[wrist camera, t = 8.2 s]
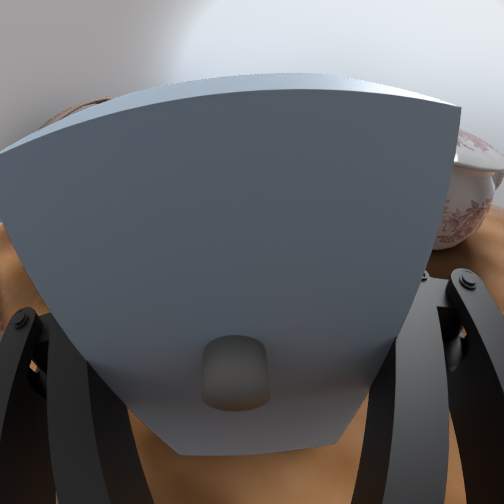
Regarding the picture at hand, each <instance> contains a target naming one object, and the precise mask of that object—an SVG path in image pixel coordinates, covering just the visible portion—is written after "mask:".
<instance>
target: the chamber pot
mask: <svg viewBox="0 0 504 504" xmlns="http://www.w3.org/2000/svg"><path fill="white" fill-rule="evenodd" d="M503 177H504V155H503V154H501V153H500V152H499V150H497V149H496V148H494V147H493V146H491V145H490V144H488V143H487V142H485V141H483V140H481V139H480V138H478V137H476V136H474V135H472V134H470V133H468V132H466V131H463V130H461V129H459V133H458V140H457V147H456V153H455V159H454V165H453V170H452V175H451V180H450V185H449V189H448V194H447V198H446V202H445V206H444V210H443V214H442V218H441V221H440V225H439V228H438V232H437V235H436V239H435V242H434V245H433V248H432V250H441V249H448V248H451V247H454V246H455V245H457V244H459V243H461V242H462V241H463V240H465V239H466V238H467V237H469V236H470V235H471V234H473V233H474V232H475V231H476V230H478V229H479V227H480V226H481V224H482V222H483V220H484V219H485V217H486V215H487V213H488V211H489V209H490V206H491V202H492V199H493V195H494V191H495V190H496V189H497V188H498V187H499V186H500V184H501V182H502V179H503Z"/></svg>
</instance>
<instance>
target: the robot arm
mask: <svg viewBox="0 0 504 504" xmlns="http://www.w3.org/2000/svg"><path fill="white" fill-rule="evenodd" d="M463 327H464V329H465V331H466V333H467V335H466V336H464V334H463V332H462V329H463ZM31 360H32V361H33V362H34V363H35V364H36V365H37V369H36V371H35V372H34V371H33V370H32V369H31V368H30V367H29V366H30V363H31ZM449 410H450V414H451V418H452V422H453V426H454V430H455V434H456V439H457V444H458V448H459V454H460V459H461V465H462V471H463V477H464V484H465V492H466V501H467V504H504V317H503V315H502V313H501V311H500V309H499V308H498V306H497V304H496V302H495V301H494V299H493V297H492V296H491V294H490V292H489V291H488V289H487V288H486V286H485V284H484V283H483V281H482V280H481V279H480V278H479V276H478V275H476V274H475V273H474V272H472V271H470V270H468V269H462V268H459V269H455V270H454V271H453V272H452V273H451V275H450V278H449V280H446V279H438V278H431V277H430V276H429V274H428V272H427V271H426V270H425V272H424V275H423V277H422V280H421V283H420V286H419V288H418V291H417V293H416V296H415V298H414V301H413V303H412V306H411V308H410V310H409V313H408V315H407V317H406V320H405V322H404V324H403V326H402V329H401V331H400V333H399V335H398V336H397V337H395V339H394V341H393V343H392V346H391V348H390V350H389V352H388V354H387V356H386V358H385V360H384V362H383V364H382V366H381V368H380V370H379V372H378V373H377V375H376V377H375V379H374V381H373V383H372V384H371V386H370V391H369V401H368V410H367V418H366V426H365V433H364V440H363V446H362V452H361V458H360V463H359V469H358V474H357V479H356V484H355V488H354V493H353V497H352V501H351V504H444V499H445V491H446V482H447V470H448V453H449ZM56 493H57V498H58V503H59V504H154V502H153V499H152V496H151V493H150V490H149V488H148V485H147V482H146V479H145V475H144V472H143V469H142V466H141V462H140V459H139V455H138V452H137V448H136V445H135V441H134V437H133V433H132V429H131V425H130V420H129V416H128V411H127V407H126V405H125V404H124V403H123V401H122V400H121V399H120V398H119V397H118V396H117V395H116V394H115V393H114V392H113V391H112V390H111V388H110V387H109V386H108V385H107V384H106V383H105V382H104V381H103V379H102V378H101V377H100V376H99V375H98V374H97V372H96V371H95V370H94V369H93V368H92V366H91V365H90V364H89V363H88V361H87V360H85V359H84V357H83V356H82V355H81V354H80V352H79V351H78V350H77V348H76V347H75V346H74V344H73V343H72V342H71V340H70V339H69V338H68V336H67V335H66V334H65V332H64V331H63V329H62V328H61V326H60V325H59V324H58V322H57V321H56V319H55V318H54V316H53V315H52V313H47V314H44V315H41V316H38V315H37V313H36V312H35V310H34V309H33V308H31V307H25V308H22V309H20V310H18V311H17V312H16V313H15V314H14V315H13V316H12V318H11V319H10V321H9V323H8V326H7V328H6V330H5V333H4V335H3V337H2V340H1V343H0V504H56Z"/></svg>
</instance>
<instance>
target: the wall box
mask: <svg viewBox="0 0 504 504" xmlns="http://www.w3.org/2000/svg"><path fill="white" fill-rule="evenodd" d="M460 115H461V107H459V106H456V105H453V104H450V103H447V102H444V101H441V100H438V99H435V98H432V97H429V96H425V95H422V94H418V93H415V92H411V91H407V90H403V89H399V88H395V87H391V86H387V85H382V84H377V83H373V82H367V81H362V80H357V79H350V78H345V77H338V76H331V75H323V74H312V73H281V74H280V73H277V74H254V75H240V76H228V77H219V78H211V79H202V80H195V81H188V82H183V83H176V84H171V85H165V86H161V87H155V88H150V89H146V90H141V91H137V92H133V93H129V94H126V95H123V96H120V97H117V98H114V99H111V100H108V101H106V102H103V103H100V104H98V105H95V106H93V107H90V108H87V109H85V110H82V111H80V112H77V113H75V114H73V115H70V116H68V117H66V118H63V119H61V120H59V121H57V122H55V123H52V124H50V125H48V126H46V127H44V128H42V129H40V130H38V131H36V132H34V133H32V134H30V135H28V136H27V137H25V138H23V139H21V140H19V141H17V142H16V143H14V144H12V145H10V146H9V147H7V148H5V149H4V150H2V151H0V218H1V220H2V223H3V225H4V227H5V229H6V232H7V234H8V236H9V238H10V240H11V242H12V244H13V247H14V249H15V251H16V253H17V255H18V257H19V258H20V260H21V262H22V264H23V266H24V268H25V270H26V272H27V273H28V275H29V277H30V279H31V281H32V282H33V284H34V286H35V287H36V289H37V291H38V293H39V294H40V296H41V297H42V299H43V301H44V302H45V304H46V305H47V307H48V309H49V310H50V312H51V313H52V315H53V316H54V318H55V319H56V321H57V322H58V324H59V325H60V326H61V328H62V329H63V331H64V332H65V334H66V335H67V336H68V338H69V339H70V340H71V342H72V343H73V344H74V346H75V347H76V348H77V350H78V351H79V352H80V354H81V355H82V356H83V357H84V359H85V360H87V361H88V363H89V364H90V365H91V366H92V368H93V369H94V370H95V371H96V372H97V374H98V375H99V376H100V377H101V378H102V379H103V381H104V382H105V383H106V384H107V385H108V386H109V387H110V388H111V390H112V391H113V392H114V393H115V394H116V395H117V396H118V397H119V398H120V399H121V400H122V401H123V403H124V404H125V405H126V406H127V408H128V409H129V410H130V411H131V412H132V413H133V414H134V415H135V416H136V417H137V418H138V419H140V420H141V421H142V422H143V423H144V424H145V425H146V426H147V427H148V428H149V429H150V430H151V431H152V432H153V433H154V434H156V435H157V436H158V437H159V438H160V439H161V440H162V441H163V442H165V443H166V444H167V445H168V446H169V447H170V448H172V449H173V450H174V451H175V452H176V453H178V454H179V455H188V456H234V455H253V454H266V453H276V452H285V451H293V450H300V449H307V448H313V447H319V446H325V445H330V444H335V443H336V442H337V441H338V440H339V438H340V437H341V435H342V434H343V432H344V431H345V429H346V428H347V426H348V425H349V423H350V422H351V420H352V419H353V417H354V416H355V414H356V412H357V411H358V409H359V408H360V406H361V404H362V403H363V401H364V399H365V398H366V396H367V394H368V393H369V391H370V386H371V384H372V383H373V381H374V379H375V377H376V375H377V373H378V372H379V370H380V368H381V366H382V364H383V362H384V360H385V358H386V356H387V354H388V352H389V350H390V348H391V346H392V343H393V341H394V339H395V337H397V336H398V335H399V333H400V331H401V329H402V326H403V324H404V322H405V320H406V317H407V315H408V313H409V310H410V308H411V306H412V303H413V301H414V298H415V296H416V293H417V291H418V288H419V286H420V283H421V280H422V277H423V275H424V272H425V269H426V266H427V263H428V260H429V258H430V254H431V251H432V248H433V245H434V242H435V239H436V235H437V232H438V228H439V225H440V221H441V218H442V214H443V210H444V206H445V202H446V198H447V194H448V189H449V185H450V180H451V175H452V170H453V165H454V159H455V153H456V147H457V140H458V133H459V125H460Z"/></svg>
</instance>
